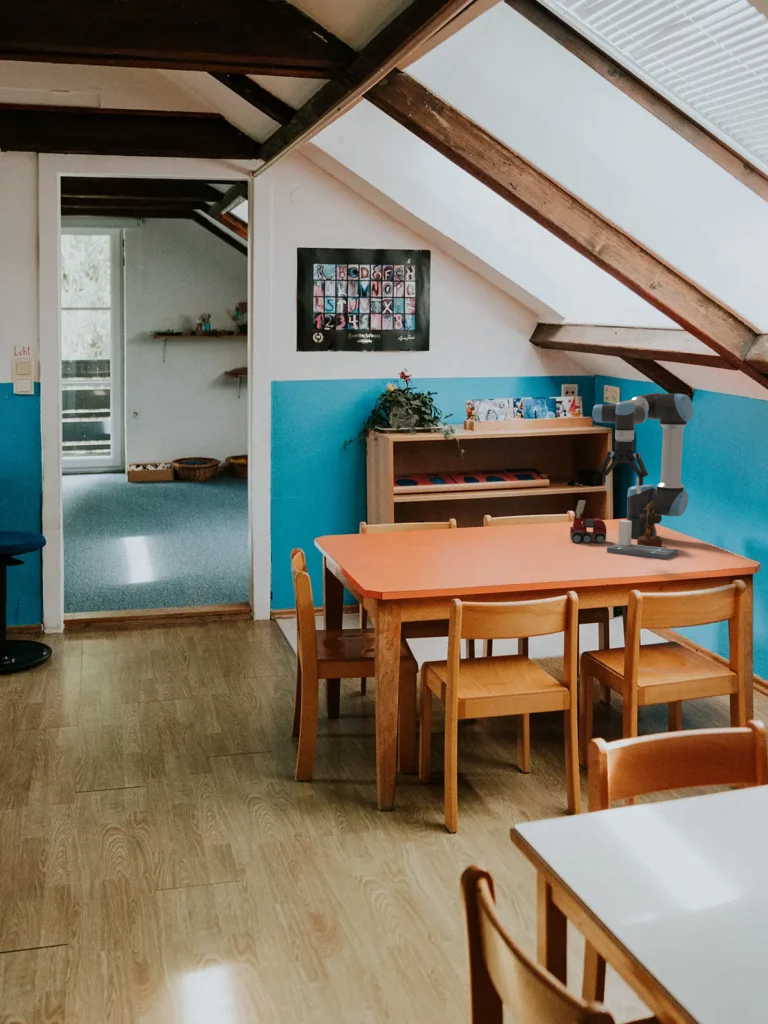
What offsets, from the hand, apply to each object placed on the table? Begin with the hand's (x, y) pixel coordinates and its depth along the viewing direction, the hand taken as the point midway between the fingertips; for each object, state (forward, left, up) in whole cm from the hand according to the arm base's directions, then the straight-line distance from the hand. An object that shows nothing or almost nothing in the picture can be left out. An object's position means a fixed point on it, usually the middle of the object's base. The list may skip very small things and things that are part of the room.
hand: (622, 492), depth 455 cm
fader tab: (-12, -4, -25) cm, 28 cm away
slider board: (-12, +4, -27) cm, 30 cm away
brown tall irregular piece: (-29, 0, -27) cm, 40 cm away
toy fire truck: (-24, -27, -27) cm, 45 cm away
